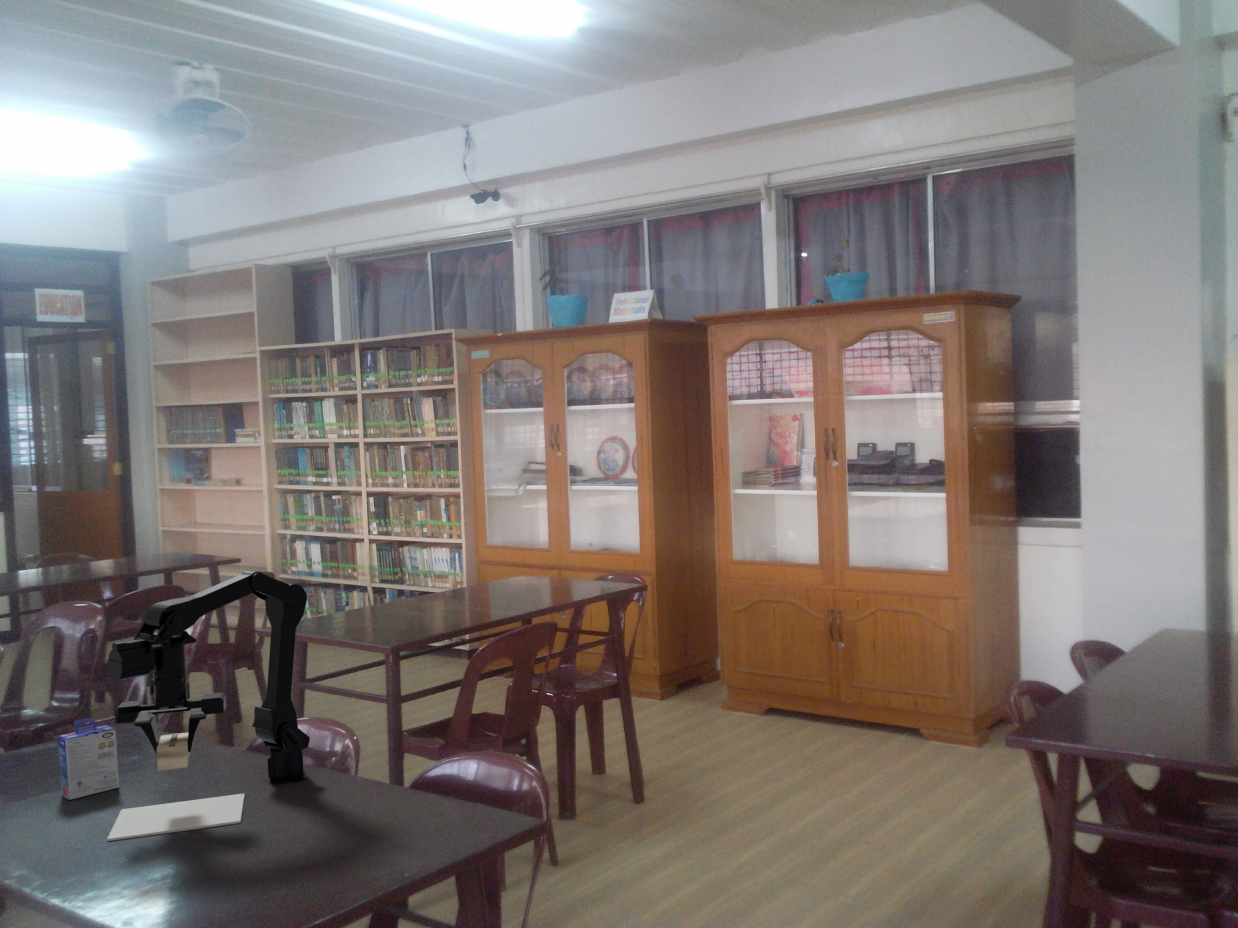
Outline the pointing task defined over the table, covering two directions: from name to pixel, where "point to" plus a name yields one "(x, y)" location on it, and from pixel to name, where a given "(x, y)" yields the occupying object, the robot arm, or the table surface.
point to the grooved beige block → (173, 751)
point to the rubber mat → (177, 817)
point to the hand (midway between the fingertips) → (174, 753)
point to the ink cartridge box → (88, 760)
